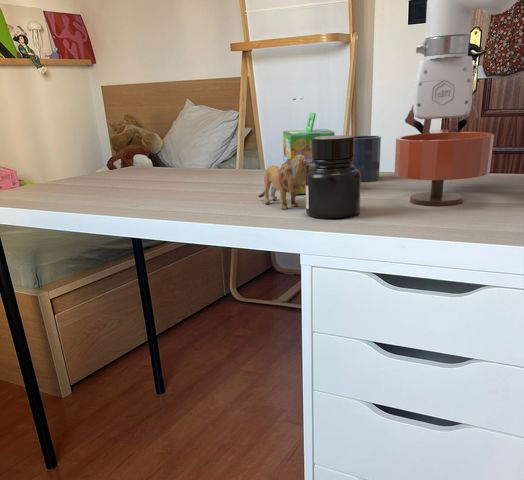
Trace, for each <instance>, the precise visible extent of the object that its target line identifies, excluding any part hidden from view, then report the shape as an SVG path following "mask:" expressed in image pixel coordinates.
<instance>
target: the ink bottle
mask: <svg viewBox="0 0 524 480" xmlns="http://www.w3.org/2000/svg"><path fill="white" fill-rule="evenodd" d="M355 136H356V135H350V134H349V135H347V134H346V135H343V134H341V135H340V134H339V135H336V134H335V136H321V137H314V138H312V158H313V159H312V162H313V163H315V166H313V167H312V168H311V170H310V171H308V173H307V174H306V194H305V212H306V213H305V214H306V215H308V216H310V217H314V218H320V219H342V218H347V217H352V216H356V215H358V214H359V213H360V212H361V185H362V182H361V174H360V171H359V170H358V169H356V168H355V166H354V165H352V164H351V162H353V161H354V159H355V158H354V156H355Z"/></svg>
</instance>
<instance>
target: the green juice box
mask: <svg viewBox="0 0 524 480" xmlns="http://www.w3.org/2000/svg"><path fill="white" fill-rule="evenodd" d="M315 121H316V112H309V114H308V118H307V122H306V127H305V129H302V130H301V129H300V130H299V129H298V130H297V129H295V130H284V131H282V151H283V152H282V153H283V154H282V155H283V163H285V162H286V161H287V160H288V159H290V158H292V157H294V156H296V155H302V156H305V159H306V162H307V163H308V164H309V165H310V166H312V167H313V166H315V163H313V162H312V159H313V158H312V138H314V137H321V136H336V134H335V131H333V130H331V129H327V128H326V129H325V128H319V129H314V124H315ZM283 163H282V164H283ZM288 193H289V194H290V195H291V192H288ZM296 195H306V182H305V183H304V184H303V185H301V186H300V190H298V191H297V192H296Z"/></svg>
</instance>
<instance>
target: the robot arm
mask: <svg viewBox="0 0 524 480" xmlns="http://www.w3.org/2000/svg"><path fill="white" fill-rule="evenodd" d="M518 1H519V0H426V14H425V15H426V17H425V32H424V34H425V35H424V42H423V41H422V43H420V44H416V47H415V53H416V54H420V55H421V54H422V55H423V59H420V60H419V62H418V66H417V70H416V77H415V83H414V84H415V86H414V95H413V104H412V106H411V108H410V109H409V111H408V113H407V115H406V116H405V118H404V123H405V124H407V125H409V126H411V127H413V128H414V129H416V130H417V131H418V132H419V134H426V133H431V125H432V120H439V119H449V130H448V131H449V132H461V131H462V130H463V128H464V127H465V126H467V125H469V124H471V123H472V122H474V121H476V120H477V119H478V118H479V114H478V112H477V110H476V107H475V105H474V103H473V89H474V88H473V87H474V86H473V85H474V62H473V56H472V55H468V54H469V46H470V45H469V43H470V34H471V33H470V32H471V22H472V12H473V10H481V11H482V12H483V13H484V14H487V15H494V16H495V15H499V14H503V13H505V12H507V11H509V9H511V8H512V7H513V6H514V5H515V4H516V3H517V2H518ZM415 118H416V119H415ZM458 118H461V119H460V120H459V119H458ZM417 119H419V120H423V123H422V122H421V121H419V120H417Z"/></svg>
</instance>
